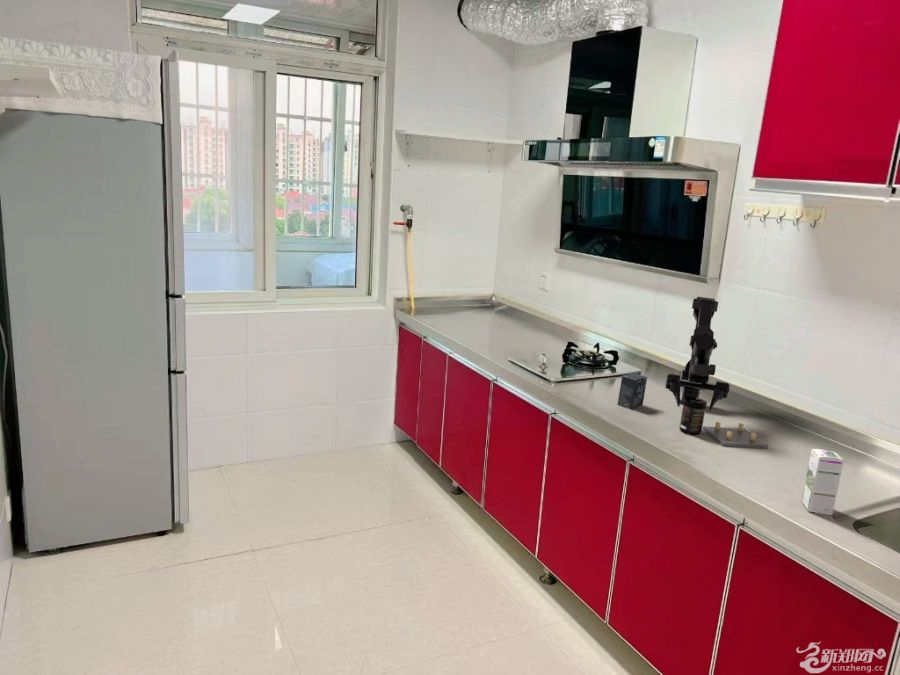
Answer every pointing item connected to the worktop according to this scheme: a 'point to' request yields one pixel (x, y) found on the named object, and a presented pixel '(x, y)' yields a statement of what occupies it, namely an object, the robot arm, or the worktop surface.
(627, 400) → the box
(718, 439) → the plate
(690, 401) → the supplement container
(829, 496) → the syrup box
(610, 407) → the worktop surface
